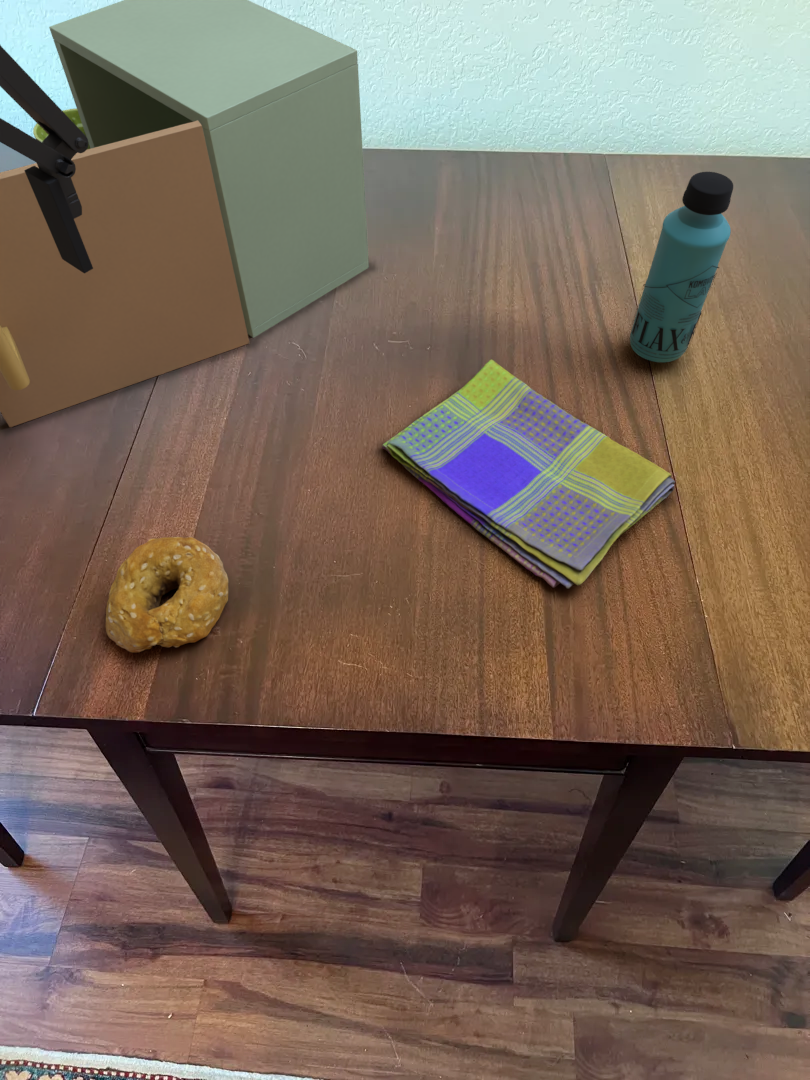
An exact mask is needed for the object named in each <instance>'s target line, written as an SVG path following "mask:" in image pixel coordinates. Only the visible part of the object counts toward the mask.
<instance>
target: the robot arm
mask: <svg viewBox="0 0 810 1080" xmlns="http://www.w3.org/2000/svg"><path fill="white" fill-rule="evenodd" d="M0 88H1V89H2V90H3V91H4V92H5V93H6V94H7V95H8V96H9V97H10V98H11V99H12V100H13V101H14V102H15V103H16V104H17V105H18V106H19V107H20V108H21V109H22V110H23V111H24V112H25V113H26V114H27V115H28V116H29V117H30V118H31V119H32V120H33V121H34V122H35V124H38V125H39V126H40V127H41V128H42V129H43V130H44V131H45V132H46V133H47V134H48V136H47V137H46V138H45V139H44V140H43V141H42V142H40V141H38V140H37V139H36V138H35V137H33V136H31V135H30V134H28V133H27V132H24V131H23V130H21V129H20V128H18V127H17V126H14V125H13V124H12V123H9V122H8V121H6V120H5V119H3V118H1V117H0V143H1V144H2V145H5V146H6V147H9V148H10V149H12V150H14V151H15V152H17V153H19V154H20V155H22V156H24V157H26V158H28V159H30V161H33V162H34V163H37V165H38V167H39V168H38V167H36V166H32V167H30V168H28V169H26V170H24V171H25V173H26V176H27V178H28V180H29V183H30V185H31V187H32V190H33V192H34V194H35V197H36V199H37V201H38V204H39V206H40V208H41V211H42V213H43V215H44V218H45V220H46V222H47V225H48V227H49V230H50V232H51V234H52V237H53V239H54V241H55V244H56V246H57V248H58V251H59V253H60V255H61V258H62V259H63V260H64V261H66V262H67V263H69V264H70V265H72V266H74V267H75V268H77V269H78V270H80V271H81V272H83V273H84V274H85V273H86V272H88V271H90V270H92V269H93V266H92V264H91V261H90V259H89V256H88V254H87V251H86V249H85V246H84V244H83V241H82V239H81V236H80V233H79V231H78V228H77V226H76V223H75V221H74V219H75V218H77V217H79V216H81V215H82V206H81V203H80V200H79V198H78V195H77V193H76V190H75V187H74V185H73V182H72V179H71V177H72V176H73V175H74V174H75V171H76V167H75V164H74V162H73V161H72V160H71V159H72V158H73V157H74V156H75V154H76V153H83V152H85V151H86V150H87V148H88V143H89V142H88V139H87V137H86V136H85V134H84V133H83V132H82V131H81V130H80V129H79V128H78V127H77V126H76V125H75V124H74V123H73V122H72V121H71V120H70V119H69V118H68V116H67V115H66V114H65V113H64V112H63V110H62V109H61V108H60V106H58V104H56V102H55V101H54V100H53V99H52V98H51V97H50V96H49V95H48V94H47V93H46V92H45V91H44V90H43V88H42V87H40V85H39V84H38V83H37V82H36V81H35V80H34V79H33V78H32V77H31V76H30V75H29V74H28V73H27V72H26V71H25V70H24V68H22V66H20V64H19V63H18V62H17V61H16V60H15V59H14V58H13V56H11V54H9V53H8V52H7V51H6V49H5V48H3V46H2V45H1V44H0Z"/></svg>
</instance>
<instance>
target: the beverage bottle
mask: <svg viewBox="0 0 810 1080" xmlns="http://www.w3.org/2000/svg"><path fill="white" fill-rule="evenodd" d="M733 191H734V182H733V181H732V180H731V179H730V178H729V177H728V176H726V175H724V174H722V173H719V172H715V171H700V172H696V173H695V174H693V175H692V176H691V177H690V179H689V181H688V183H687V186H686V188H685V190H684V192H683V194H682V195H683V196H682V198H681V199H682V201H681V202H682V204H683V205H684V206H681V207H678V208H676V209H674V210H672V211H670V212H669V213H668V214H667V215H666V216H664V219H663V221H662V226H661V231H660V234H659V237H658V241H657V244H656V248H655V251H654V255H653V258H652V262H651V265H650V268H649V272H648V275H647V278H646V280H645V283H643V284H642V290H641V293H640V294H641V296H640V298H638V303H637V307H636V310H635V311H636V312H635V313H634V317H633V318H632V321H631V327H630V329H629V331H630V332H629V337H628V338H629V345H630V347H631V349H632V350H633V351H634V353H635V354H637V355H638V356H639V357H641V358H642V359H645V360H647V361H650V362H654V363H670V362H673V361H676V360H679V359H680V358H681V357H683V355H684V354H685V353H686V352H687V351H688V349H689V348H690V345H691V342H692V341H693V338H694V335H695V333H696V329H697V327H698V325H699V322H700V320H701V319H700V318H701V316H702V311H703V307H704V304H705V303H706V302H705V301H706V299H707V298H708V295H709V293H710V292H711V289H712V288H713V287H712V286H713V284H714V281H715V278H716V276H717V274H718V272H717V270H718V269H720V267H719V264H720V261H721V258H722V255H723V253H724V250H725V248H726V245H727V242H728V241H729V240H730V237H731V232H732V231H731V229H732V228H731V226H730V223H729V221H728V220H727V219H726V217H725V216H724V214H723V213H725V212H726V211H727V210H728V209H729V206H730V204H731V201H732V200H731V198H732V196H733V195H732V194H733Z"/></svg>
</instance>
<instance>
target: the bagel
mask: <svg viewBox="0 0 810 1080" xmlns="http://www.w3.org/2000/svg"><path fill="white" fill-rule="evenodd" d="M176 589H177V590H176ZM172 590H176V592H175V593H174V594H173V596H172V597H170V598H169V599H167V600H166V601H165V602H164V603H162V597H163V596H165V594H167V593H169V592H170V591H172ZM107 599H108V600H107V602H106V608H105V614H106V615H105V631H106V635H107V637H108V638H109V639H110V640H112V641H113V642H114V643H115V645H116V646H119V647H120V648H122V649H125V650H126V651H127V652H129V653H141V652H143V651H145V650H150V649H152V647H153V646H154V647H155V646H156V645H157V646H161V647H162V648H171V647H174V648H179V647H180V646H183V645H185V644H189V643H192V644H193V643H196V642H198V641H200V640H202V639H204V638H206V637H207V636H208V635H209V634H210V632H211V631H212V629H213V628H214V626H216V623H217V622H218V620H219V619H220V618H221V615H222V614H223V612H224V608H225V606H226V604H227V603H228V601H229V577H228V574H227V572H226V570H225V568H224V563H223V560H222V559H221V558H220V556H219V555H218V554H217V553H215V552H214V551H213V550H212V549H211V548H210V547H209V546H208V545H206V544H205V543H203V542H202V541H200V540H199V539H196V538H195V537H192V536H189V537H187V536H186V537H182V536H172V537H171V536H167V537H166V536H165V537H160V538H158V537H157V538H150V539H148V540H147V541H146V542H145V543H143V544H141V545H139V546H137V547H136V548H135V549H134V550H133V551H132V553H130V554H129V555H128V556H127V558H126V559H125V560H124V561H123V562H122V563H121V564H120V566H119V567H118V569H117V572H116V576H115V578H114V581H113V582H112V584H111V586H110V589H109V592H108V598H107ZM161 603H162V604H161ZM160 604H161V605H160Z"/></svg>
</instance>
